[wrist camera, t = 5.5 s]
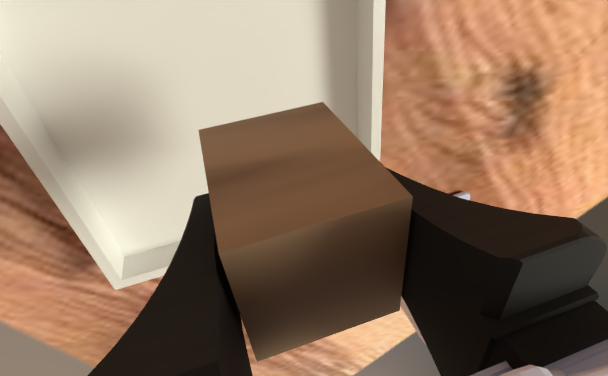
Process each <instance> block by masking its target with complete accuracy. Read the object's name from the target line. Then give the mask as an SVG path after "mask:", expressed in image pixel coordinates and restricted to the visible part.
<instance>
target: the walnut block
mask: <svg viewBox="0 0 608 376" xmlns="http://www.w3.org/2000/svg"><path fill="white" fill-rule="evenodd" d="M198 131H199V137H200V143H201V149H202V155H203V161H204V167H205V174H206V180H207V186H208V192H209V198H210V204H211V210H212V216H213V222H214V228H215V234H216V240H217V246H218V252H219V256H220V259H221V261H222V264H223V267H224V270H225V273H226V275H227V278H228V281H229V284H230V287H231V289H232V292H233V295H234V298H235V301H236V304H237V306H238V309H239V312H240V315H241V318H242V320H243V323H244V326H245V329H246V332H247V334H248V337H249V340H250V343H251V346H252V349H253V351H254V354H255V357H256V360H257V361H260V360H263V359H266V358H269V357H271V356H274V355H277V354H280V353H282V352H285V351H288V350H291V349H294V348H296V347H299V346H302V345H305V344H307V343H310V342H313V341H316V340H319V339H321V338H324V337H327V336H330V335H332V334H335V333H338V332H341V331H344V330H346V329H349V328H352V327H355V326H357V325H360V324H363V323H366V322H369V321H371V320H374V319H377V318H380V317H383V316H385V315H388V314H391V313H394V312H396V311H399V310H400V302H401V294H402V285H403V277H404V269H405V260H406V252H407V243H408V235H409V226H410V218H411V209H412V201H413V196H412V195H411V194H410V193H409V192H408V191H407V190H406V189H405V188H404V187H403V186H402V185H401V183H400V182H399V181H398V180H397V179H396V178H395V177H394V176H393V175H392V174H391V173H390V172H389V171H388V170H387V169H386V168H385V167H384V166H383V165H382V163H381V162H380V161H379V160H378V159H377V158H376V157H375V156H374V155H373V154H372V153H371V152H370V151H369V150H368V149H367V148H366V147H365V146H364V145H363V144H362V142H361V141H360V140H359V139H358V138H357V137H356V136H355V135H354V134H353V133H352V132H351V131H350V130H349V129H348V128H347V127H346V126H345V125H344V124H343V122H342V121H341V120H340V119H339V118H338V117H337V116H336V115H335V114H334V113H333V112H332V111H331V110H330V109H329V108H328V107H327V106H326V105H325V104H324V102H320V103H316V104H311V105H307V106H302V107H298V108H293V109H289V110H285V111H280V112H276V113H271V114H267V115H262V116H258V117H253V118H249V119H245V120H240V121H236V122H231V123H227V124H222V125H218V126H213V127H209V128H205V129H200V130H198Z"/></svg>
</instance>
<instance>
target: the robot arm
mask: <svg viewBox="0 0 608 376" xmlns="http://www.w3.org/2000/svg"><path fill="white" fill-rule="evenodd" d="M385 168H386V167H385ZM386 169H387V170H388V171H389V172H390V173H391V174H392V175H393V176H394V177H395V178H396V179H397V180H398V181H399V182H400V183H401V185H402V186H403V187H404V188H405V189H406V190H407V191H408V192H409V193H410V194H411V195H412V196H413V201H412V209H411V218H410V226H409V235H408V243H407V252H406V260H405V269H404V277H403V285H402V294H401V302H400V306H401V308H402V309H403V311H404V312H405V314H406V316H407V317H408V319H409V320H410V322H411V323H412V325H413V327H414V328H415V330H416V331H417V333H418V335H419V336H420V338H421V339H422V341H423V342H424V343H425V345H426V346H427V347H428V349H429V351H430V353H431V355H432V357H433V360H434V361H435V364H436V366H437V368H438V371H439V373H440V375H441V376H608V311H606V310H605V309H604V308H603V307H602V306H600V305H599V304H598V303H597V302H596V301H595V300H597V299H598V297H599V296H598V293H597V292H596V291H594V290H593V289H592V288H591V287H590V286H588V283H589V281H590V280H591V278H592V276H593V275H594V273H595V272H596V270H597V268H598V267H599V265H600V264H601V262H602V260H603V258H604V256H605V253H606V243H605V240H604V239H603V238H601V237H600V236H599V235H598V234H596V233H595V232H593V231H592V230H590V229H589V228H587V227H586V226H585V225H583V224H582V223H580V222H579V221H578V220H576V219H574V218H567V217H558V216H550V215H541V214H533V213H527V212H521V211H515V210H509V209H504V208H499V207H494V206H490V205H486V204H482V203H478V202H474V201H470V194H469V193H468V192H461V193H458V194H455V195H450V194H447V193H444V192H441V191H438V190H436V189H433V188H430V187H428V186H425V185H423V184H421V183H418V182H416V181H413V180H411V179H409V178H407V177H404V176H402V175H400V174H398V173H396V172H394V171H392V170H390V169H388V168H386ZM88 376H252V372H251V367H250V363H249V358H248V353H247V349H246V344H245V339H244V335H243V330H242V323H241V316H240V312H239V309H238V306H237V304H236V301H235V298H234V295H233V292H232V289H231V287H230V284H229V281H228V278H227V275H226V273H225V270H224V267H223V264H222V261H221V259H220V256H219V252H218V246H217V240H216V234H215V228H214V222H213V216H212V210H211V204H210V198H209V193H207V194H203V195H199V196H196V197H195V198H194V200H193V205H192V209H191V212H190V216H189V219H188V222H187V225H186V228H185V230H184V233H183V236H182V238H181V241H180V243H179V246H178V248H177V250H176V252H175V254H174V256H173V259H172V261H171V263H170V265H169V267H168V269H167V271H166V273H165V274H164V276H163V278H162V280H161V281H160V283H159V285H158V287H157V288H156V290H155V292H154V293H153V295H152V296H151V298H150V299H149V301H148V302H147V304H146V305H145V307H144V308H143V310H142V311H141V313H140V314H139V315H138V317H137V318H136V320H135V321H134V322H133V323H132V325H131V326H130V327H129V329H128V330H127V331H126V332H125V334H124V335H123V336H122V337H121V339H120V340H119V341H118V343H117V344H116V345H115V346H114V347H113V348H112V350H111V351H110V352H109V353H108V354H107V355H106V356H105V357H104V359H103V360H102V361H101V362H100V363H99V364H98V365H97V366H96V367H95V368H94V369H93V370H92V372H91V373H90V374H89V375H88Z"/></svg>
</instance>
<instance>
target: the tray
mask: <svg viewBox="0 0 608 376" xmlns="http://www.w3.org/2000/svg"><path fill="white" fill-rule="evenodd" d="M385 2H386V0H0V124H1V126H2V127H3V129H4V130H5V132H6V133H7V135H8V136H9V137H10V139H11V140H12V142H13V143H14V145H15V146H16V148H17V149H18V150H19V152H20V153H21V155H22V156H23V158H24V159H25V161H26V162H27V163H28V165H29V166H30V168H31V169H32V171H33V172H34V174H35V175H36V176H37V178H38V179H39V181H40V182H41V184H42V185H43V187H44V188H45V189H46V191H47V192H48V194H49V195H50V197H51V198H52V200H53V201H54V202H55V204H56V205H57V207H58V208H59V210H60V211H61V213H62V214H63V215H64V217H65V218H66V220H67V221H68V223H69V224H70V226H71V227H72V228H73V230H74V231H75V233H76V234H77V236H78V237H79V239H80V240H81V241H82V243H83V244H84V246H85V247H86V249H87V250H88V252H89V253H90V254H91V256H92V257H93V259H94V260H95V262H96V263H97V265H98V266H99V267H100V269H101V270H102V272H103V273H104V275H105V276H106V278H107V279H108V280H109V282H110V283H111V285H112V286H113V288H114V289H115V290H117V289H120V288H124V287H127V286H130V285H134V284H137V283H140V282H143V281H147V280H150V279H153V278H157V277H160V276H163V275H164V274H165V273H166V271H167V269H168V267H169V265H170V263H171V261H172V259H173V256H174V254H175V252H176V250H177V248H178V246H179V243H180V241H181V238H182V236H183V233H184V230H185V228H186V225H187V222H188V219H189V216H190V212H191V209H192V205H193V200H194V198H195V197H196V196H199V195H203V194H207V193H209V192H208V186H207V180H206V174H205V167H204V161H203V155H202V149H201V143H200V137H199V131H198V130H200V129H205V128H209V127H213V126H218V125H222V124H227V123H231V122H236V121H240V120H245V119H249V118H253V117H258V116H262V115H267V114H271V113H276V112H280V111H285V110H289V109H293V108H298V107H302V106H307V105H311V104H316V103H320V102H324V104H325V105H326V106H327V107H328V108H329V109H330V110H331V111H332V112H333V113H334V114H335V115H336V116H337V117H338V118H339V119H340V120H341V121H342V122H343V124H344V125H345V126H346V127H347V128H348V129H349V130H350V131H351V132H352V133H353V134H354V135H355V136H356V137H357V138H358V139H359V140H360V141H361V142H362V144H363V145H364V146H365V147H366V148H367V149H368V150H369V151H370V152H371V153H372V154H373V155H374V156H375V157H376V158H377V159H378V160H379V161H380V147H381V118H382V89H383V60H384V31H385Z"/></svg>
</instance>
